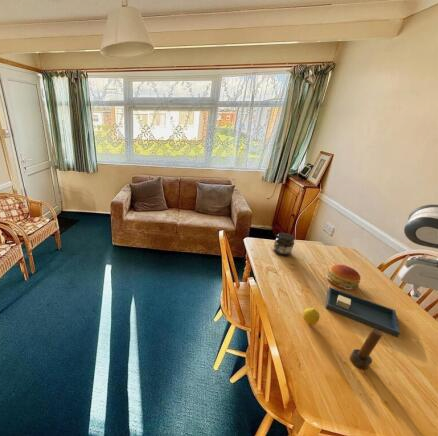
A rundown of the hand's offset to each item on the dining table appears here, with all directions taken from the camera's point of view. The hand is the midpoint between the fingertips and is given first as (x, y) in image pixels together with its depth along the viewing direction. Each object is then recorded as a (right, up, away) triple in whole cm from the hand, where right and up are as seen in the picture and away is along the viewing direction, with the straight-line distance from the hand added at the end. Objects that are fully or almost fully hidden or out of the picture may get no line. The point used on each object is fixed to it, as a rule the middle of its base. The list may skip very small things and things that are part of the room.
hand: (434, 301), depth 71 cm
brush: (-13, -27, +12) cm, 32 cm away
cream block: (+2, -15, +36) cm, 39 cm away
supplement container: (-3, +4, +77) cm, 77 cm away
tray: (+6, -17, +32) cm, 37 cm away
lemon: (-20, -20, +27) cm, 39 cm away
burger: (+12, -9, +50) cm, 52 cm away
